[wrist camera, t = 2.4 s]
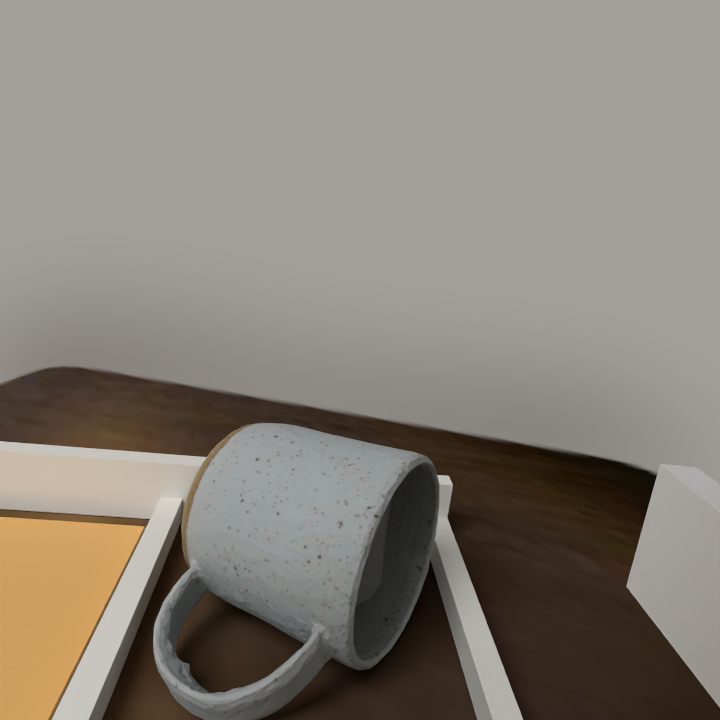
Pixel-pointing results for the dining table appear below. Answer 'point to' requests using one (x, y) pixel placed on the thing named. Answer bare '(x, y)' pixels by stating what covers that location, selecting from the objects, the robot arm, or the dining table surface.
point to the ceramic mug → (301, 555)
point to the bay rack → (140, 578)
